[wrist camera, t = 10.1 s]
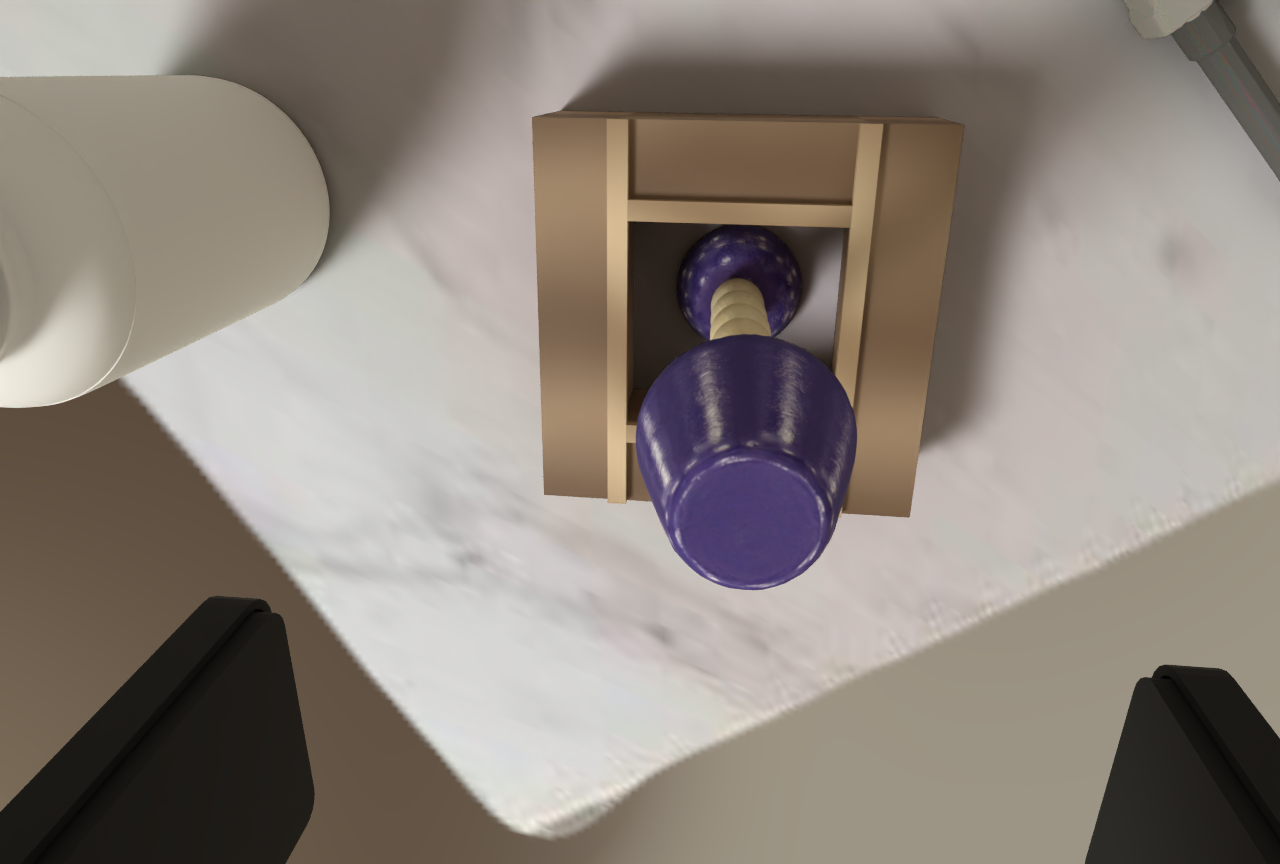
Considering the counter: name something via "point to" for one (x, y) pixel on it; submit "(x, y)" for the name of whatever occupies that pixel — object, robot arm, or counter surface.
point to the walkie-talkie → (1217, 63)
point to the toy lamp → (745, 422)
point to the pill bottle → (142, 222)
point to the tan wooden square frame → (747, 195)
